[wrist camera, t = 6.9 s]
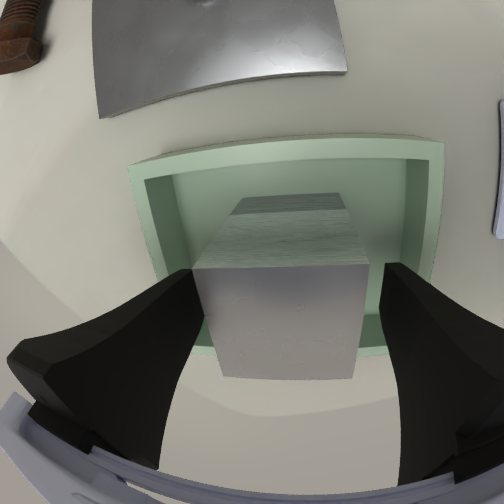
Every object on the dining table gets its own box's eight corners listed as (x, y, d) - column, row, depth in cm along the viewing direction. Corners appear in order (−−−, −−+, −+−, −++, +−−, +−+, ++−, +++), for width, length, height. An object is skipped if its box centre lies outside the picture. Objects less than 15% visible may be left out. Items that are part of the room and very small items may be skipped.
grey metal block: (338, 276, 14) (351, 378, 8) (253, 279, 14) (223, 376, 9) (338, 192, 12) (369, 263, 6) (242, 197, 13) (191, 268, 7)
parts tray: (414, 135, 10) (444, 142, 7) (396, 315, 15) (408, 352, 12) (160, 154, 13) (126, 166, 10) (201, 318, 17) (184, 352, 15)
